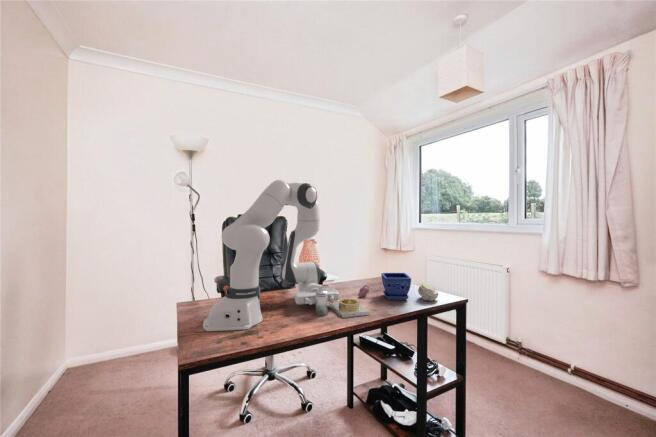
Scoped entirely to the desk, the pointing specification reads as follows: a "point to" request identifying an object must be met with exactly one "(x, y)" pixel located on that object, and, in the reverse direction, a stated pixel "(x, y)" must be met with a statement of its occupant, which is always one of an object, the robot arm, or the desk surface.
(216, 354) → the desk surface
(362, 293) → the purple stone
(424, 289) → the fossil replica
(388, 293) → the flower pot
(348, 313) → the gold ring on slab
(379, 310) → the desk surface
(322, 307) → the salt shaker
